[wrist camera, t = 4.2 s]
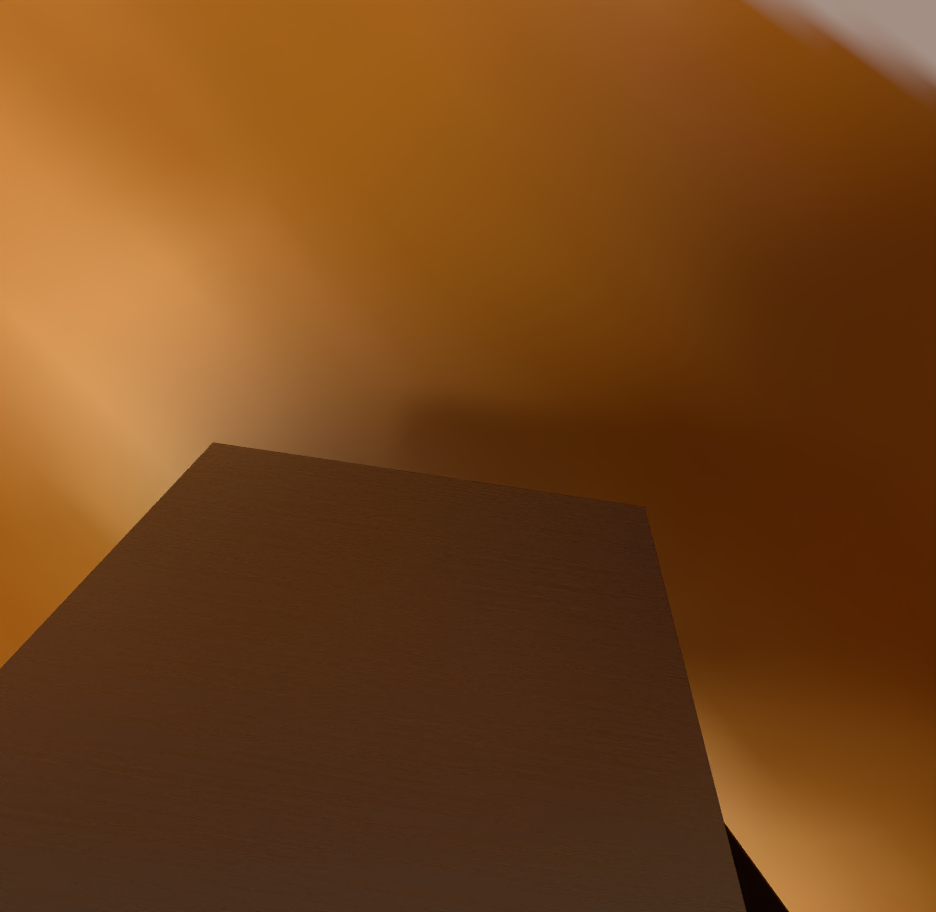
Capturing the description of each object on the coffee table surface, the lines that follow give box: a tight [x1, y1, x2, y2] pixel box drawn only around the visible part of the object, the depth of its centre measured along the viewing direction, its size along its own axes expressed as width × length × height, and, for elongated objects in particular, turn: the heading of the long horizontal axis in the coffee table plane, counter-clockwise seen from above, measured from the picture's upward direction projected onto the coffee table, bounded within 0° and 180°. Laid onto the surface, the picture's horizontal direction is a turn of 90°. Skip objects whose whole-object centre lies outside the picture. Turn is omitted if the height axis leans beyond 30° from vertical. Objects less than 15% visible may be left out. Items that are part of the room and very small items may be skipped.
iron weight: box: [0, 443, 746, 912], centre depth 7 cm, size 5×5×6 cm
